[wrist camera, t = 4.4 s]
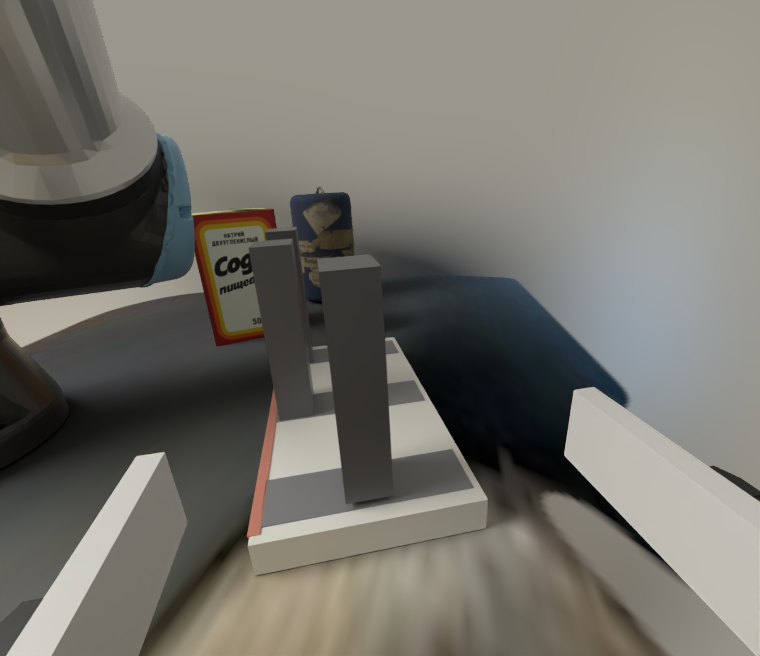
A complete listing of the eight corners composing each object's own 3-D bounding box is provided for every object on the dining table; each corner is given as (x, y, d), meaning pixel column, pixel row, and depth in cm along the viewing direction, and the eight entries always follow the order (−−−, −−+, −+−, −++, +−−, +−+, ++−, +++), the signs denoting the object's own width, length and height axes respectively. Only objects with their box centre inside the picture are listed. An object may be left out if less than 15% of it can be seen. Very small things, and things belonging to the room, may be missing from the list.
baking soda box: (216, 346, 46) (185, 212, 40) (213, 330, 52) (186, 210, 46) (292, 330, 50) (273, 205, 44) (282, 317, 55) (264, 205, 50)
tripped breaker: (393, 495, 19) (380, 266, 15) (345, 504, 19) (318, 271, 15) (383, 457, 22) (369, 254, 18) (341, 464, 22) (317, 259, 17)
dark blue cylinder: (299, 308, 59) (282, 188, 53) (305, 292, 68) (291, 188, 62) (359, 303, 60) (349, 184, 54) (356, 288, 69) (348, 184, 62)
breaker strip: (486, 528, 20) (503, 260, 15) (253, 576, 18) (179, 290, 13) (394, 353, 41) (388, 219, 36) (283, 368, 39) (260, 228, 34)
